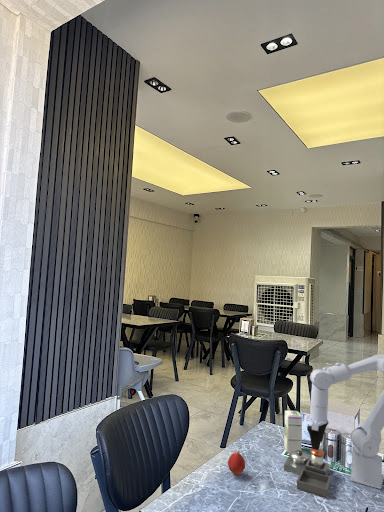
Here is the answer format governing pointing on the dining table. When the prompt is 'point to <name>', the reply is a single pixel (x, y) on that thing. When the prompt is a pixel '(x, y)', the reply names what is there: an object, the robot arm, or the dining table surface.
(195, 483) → the dining table surface
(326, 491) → the tray
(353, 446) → the robot arm
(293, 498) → the dining table surface
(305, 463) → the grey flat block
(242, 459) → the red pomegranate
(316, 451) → the pin
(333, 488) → the dining table surface
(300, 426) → the syrup box
